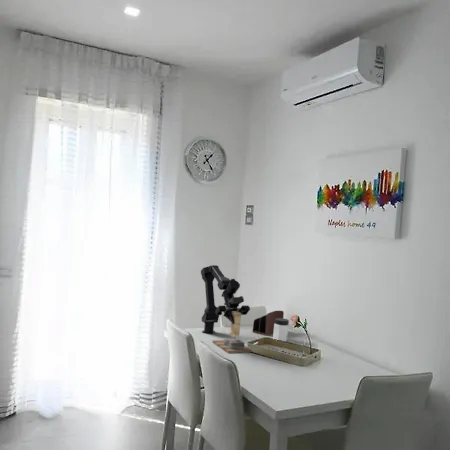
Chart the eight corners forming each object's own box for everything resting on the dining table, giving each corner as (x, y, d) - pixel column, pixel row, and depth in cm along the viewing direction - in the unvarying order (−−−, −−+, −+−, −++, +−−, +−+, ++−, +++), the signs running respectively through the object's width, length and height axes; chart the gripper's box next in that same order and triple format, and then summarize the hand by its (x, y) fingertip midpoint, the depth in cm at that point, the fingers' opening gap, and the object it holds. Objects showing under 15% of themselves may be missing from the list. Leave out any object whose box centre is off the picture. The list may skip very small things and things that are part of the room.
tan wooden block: (230, 334, 261) (232, 311, 261) (234, 334, 262) (236, 311, 262) (234, 336, 256) (236, 313, 256) (239, 336, 258) (241, 313, 258)
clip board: (212, 342, 267) (212, 334, 267) (234, 341, 273) (235, 334, 273) (227, 353, 249) (228, 345, 249) (251, 351, 255) (252, 344, 255)
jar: (290, 340, 286) (292, 320, 286) (280, 342, 281) (282, 321, 280) (279, 337, 293) (281, 317, 292) (270, 338, 288) (271, 318, 287)
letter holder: (282, 331, 309) (284, 309, 308) (265, 336, 293) (267, 313, 293) (269, 328, 315) (271, 306, 314) (252, 332, 299) (254, 309, 299)
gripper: (219, 290, 258) (226, 315, 249) (250, 290, 266) (258, 315, 257) (212, 302, 266) (218, 327, 256) (242, 302, 274) (249, 326, 264)
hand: (236, 323), depth 258 cm, fingers closed on tan wooden block, 3 cm apart
